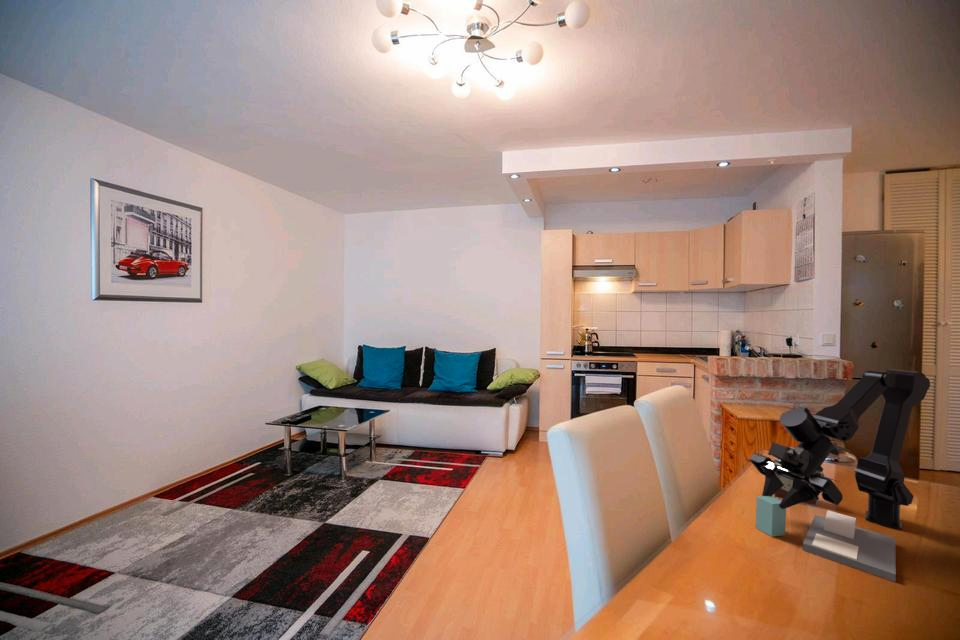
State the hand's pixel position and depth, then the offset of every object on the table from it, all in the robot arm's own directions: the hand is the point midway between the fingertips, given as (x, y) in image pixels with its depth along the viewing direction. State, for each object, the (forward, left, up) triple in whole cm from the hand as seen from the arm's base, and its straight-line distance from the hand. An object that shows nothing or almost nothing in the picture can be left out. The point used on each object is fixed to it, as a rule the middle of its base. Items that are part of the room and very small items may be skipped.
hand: (771, 503), depth 94 cm
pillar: (0, 0, -7) cm, 7 cm away
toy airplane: (-50, 0, -7) cm, 50 cm away
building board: (-6, +13, -7) cm, 16 cm away
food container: (-29, 0, -7) cm, 30 cm away
